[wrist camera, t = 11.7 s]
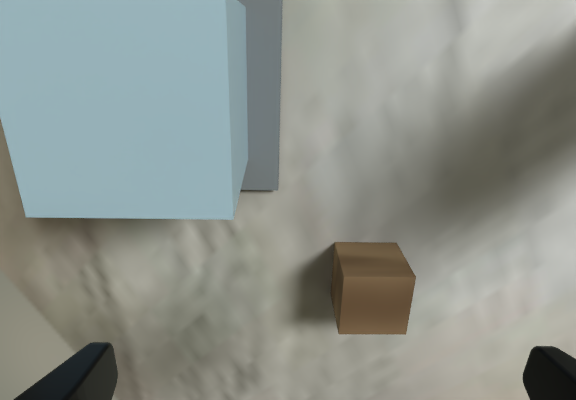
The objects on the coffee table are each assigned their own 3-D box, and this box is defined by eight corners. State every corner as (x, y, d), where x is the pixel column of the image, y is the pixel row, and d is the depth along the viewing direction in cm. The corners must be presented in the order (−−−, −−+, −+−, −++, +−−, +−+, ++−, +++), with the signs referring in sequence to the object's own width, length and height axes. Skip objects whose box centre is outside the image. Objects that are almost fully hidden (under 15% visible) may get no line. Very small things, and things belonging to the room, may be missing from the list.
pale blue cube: (248, 158, 20) (233, 219, 13) (109, 156, 20) (26, 217, 13) (245, 6, 17) (225, -10, 11) (85, 2, 17) (-35, -17, 10)
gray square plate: (278, 187, 21) (278, 190, 20) (85, 183, 21) (80, 186, 20) (282, -31, 17) (283, -33, 17) (45, -40, 17) (38, -43, 16)
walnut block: (388, 293, 24) (406, 334, 21) (330, 293, 24) (338, 334, 20) (396, 242, 22) (415, 276, 19) (334, 241, 22) (344, 276, 19)
